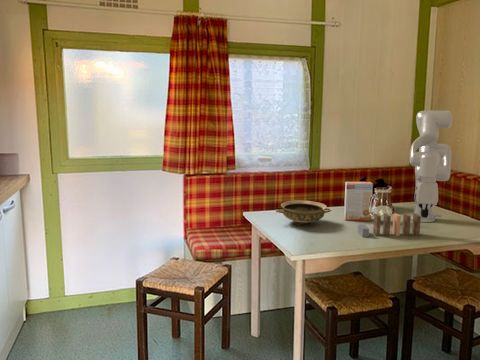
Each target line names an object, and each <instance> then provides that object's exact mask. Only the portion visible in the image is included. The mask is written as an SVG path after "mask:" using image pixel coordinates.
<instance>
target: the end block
mask: <svg viewBox="0 0 480 360" xmlns="http://www.w3.org/2000/svg"><path fill="white" fill-rule="evenodd" d="M357 233H358V234H359V235H360V236H361V237H362V238H370V228H369V227H368V226H367V225H366V224H365V223H364V224H363V223H362V224H360V223H359V224H357Z"/></svg>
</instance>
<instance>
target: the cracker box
mask: <svg viewBox="0 0 480 360" xmlns="http://www.w3.org/2000/svg"><path fill="white" fill-rule="evenodd" d="M373 185H374V183H373V182H372V181H366V182H359V181H345V182H344V209H343V210H344V213H343V214H344V215H343V216H344V217H343V218H344V220H345V221H354V222H355V221H357V222H358V221H361V222H371V221H372V214H371V215H370V212H369V207H370V206H369V203H370V202H369V201H370V200H369V199H370V198H371V197H372V191H373Z"/></svg>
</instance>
